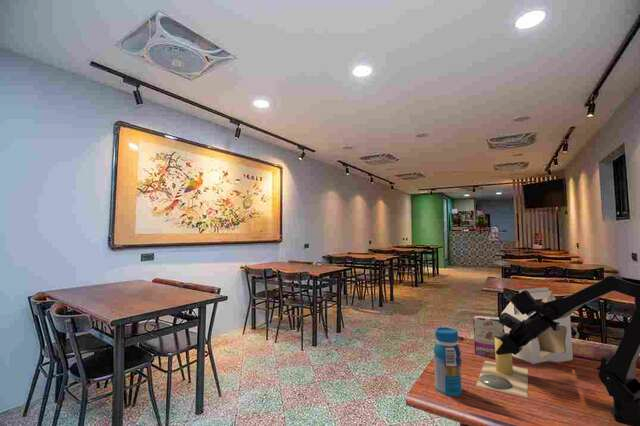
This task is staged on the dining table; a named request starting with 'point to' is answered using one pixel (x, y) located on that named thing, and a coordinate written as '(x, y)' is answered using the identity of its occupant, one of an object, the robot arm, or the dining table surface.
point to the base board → (517, 379)
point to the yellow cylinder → (502, 357)
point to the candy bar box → (486, 334)
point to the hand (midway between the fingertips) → (499, 351)
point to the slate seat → (495, 381)
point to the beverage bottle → (447, 362)
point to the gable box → (544, 334)
